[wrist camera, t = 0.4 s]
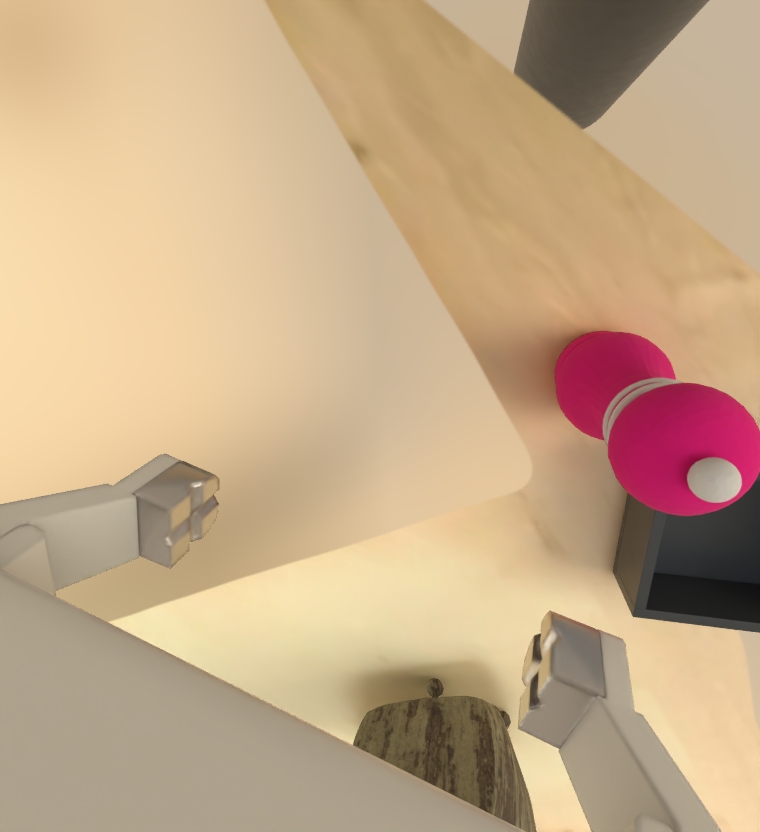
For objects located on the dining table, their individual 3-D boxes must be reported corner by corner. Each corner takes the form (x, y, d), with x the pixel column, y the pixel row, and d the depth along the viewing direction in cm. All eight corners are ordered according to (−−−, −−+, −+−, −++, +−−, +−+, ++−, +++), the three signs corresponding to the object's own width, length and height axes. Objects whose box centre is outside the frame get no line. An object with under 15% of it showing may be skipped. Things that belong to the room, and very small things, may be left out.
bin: (638, 433, 38) (665, 462, 33) (822, 446, 36) (882, 478, 31) (612, 571, 42) (632, 617, 37) (776, 590, 40) (823, 640, 35)
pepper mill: (665, 389, 37) (867, 529, 18) (573, 433, 39) (667, 597, 20) (623, 305, 35) (793, 360, 17) (530, 355, 38) (588, 452, 19)
